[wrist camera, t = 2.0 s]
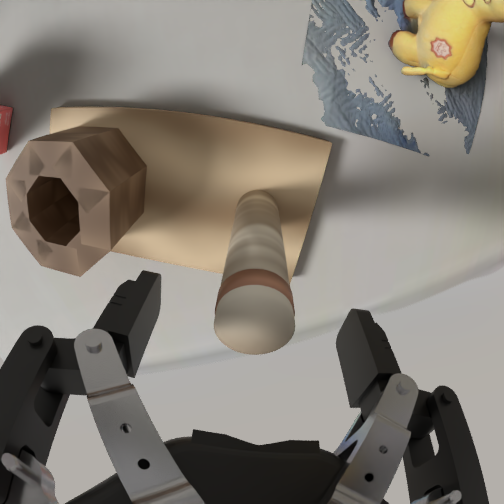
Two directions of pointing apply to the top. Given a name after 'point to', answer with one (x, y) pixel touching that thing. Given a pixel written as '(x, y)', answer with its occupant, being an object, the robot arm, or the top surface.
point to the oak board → (208, 179)
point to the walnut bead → (75, 195)
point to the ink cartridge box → (4, 127)
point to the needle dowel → (255, 281)
